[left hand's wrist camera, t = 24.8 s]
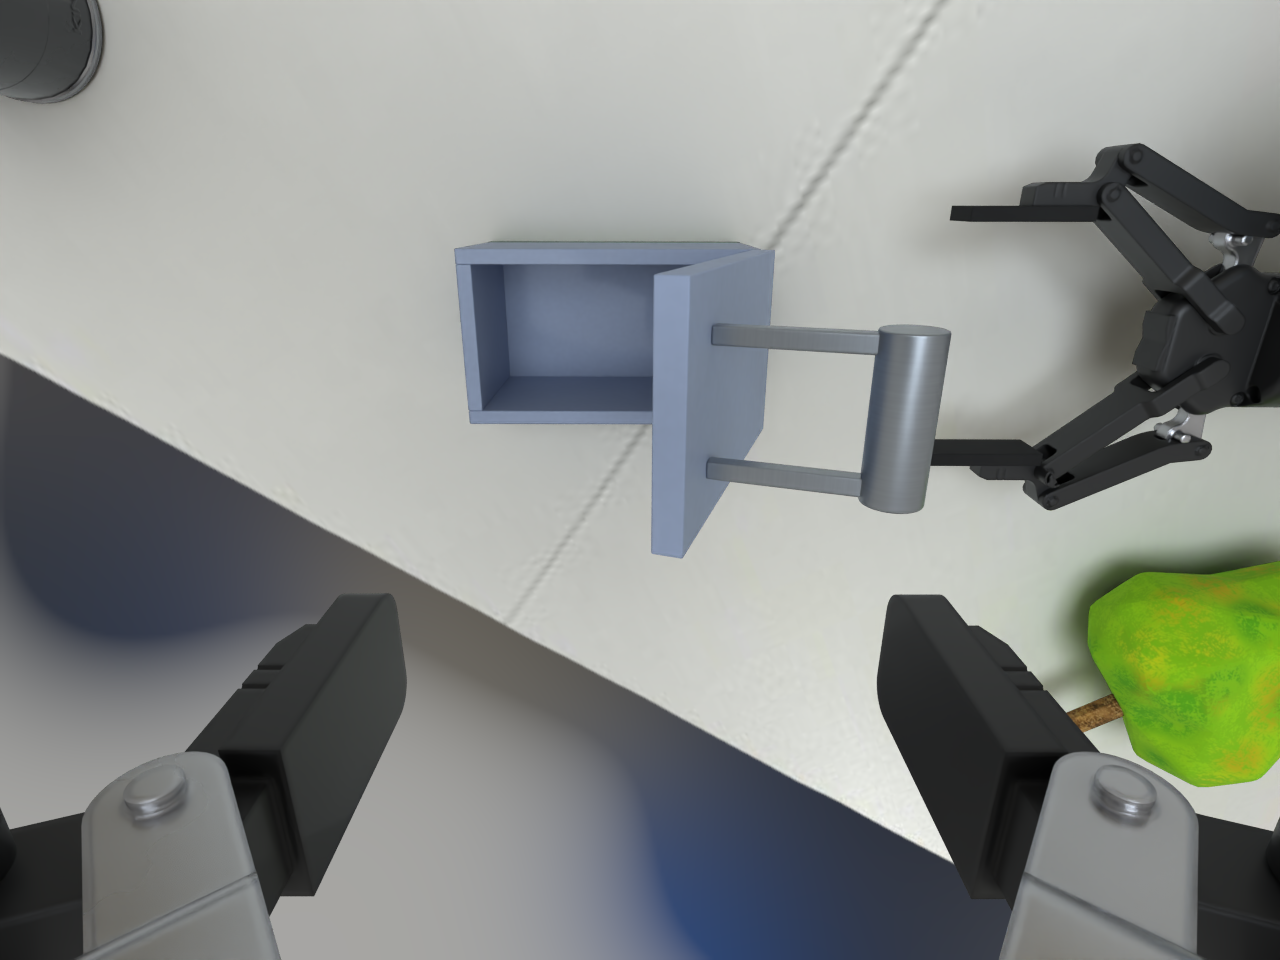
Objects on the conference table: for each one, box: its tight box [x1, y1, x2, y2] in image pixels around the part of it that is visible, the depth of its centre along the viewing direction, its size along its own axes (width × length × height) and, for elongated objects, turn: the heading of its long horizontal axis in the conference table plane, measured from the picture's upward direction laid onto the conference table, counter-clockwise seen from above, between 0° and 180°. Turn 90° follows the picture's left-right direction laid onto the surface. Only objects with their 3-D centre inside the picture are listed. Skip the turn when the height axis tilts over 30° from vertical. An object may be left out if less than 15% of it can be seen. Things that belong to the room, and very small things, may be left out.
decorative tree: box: [1067, 561, 1280, 787], centre depth 52 cm, size 18×10×30 cm
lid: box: [651, 250, 951, 558], centre depth 29 cm, size 17×10×9 cm
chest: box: [454, 241, 761, 424], centre depth 43 cm, size 16×10×10 cm, turn 90°
